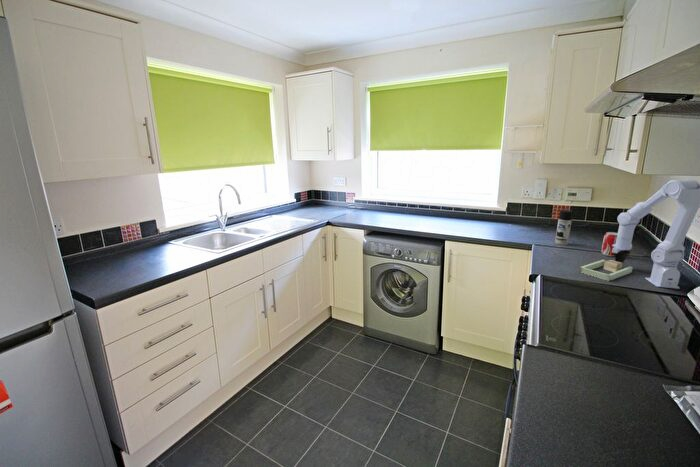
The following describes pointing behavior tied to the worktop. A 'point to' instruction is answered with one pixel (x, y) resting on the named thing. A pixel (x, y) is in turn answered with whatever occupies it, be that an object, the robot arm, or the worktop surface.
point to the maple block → (612, 265)
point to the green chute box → (588, 270)
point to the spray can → (563, 227)
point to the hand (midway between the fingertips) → (618, 264)
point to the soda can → (608, 243)
